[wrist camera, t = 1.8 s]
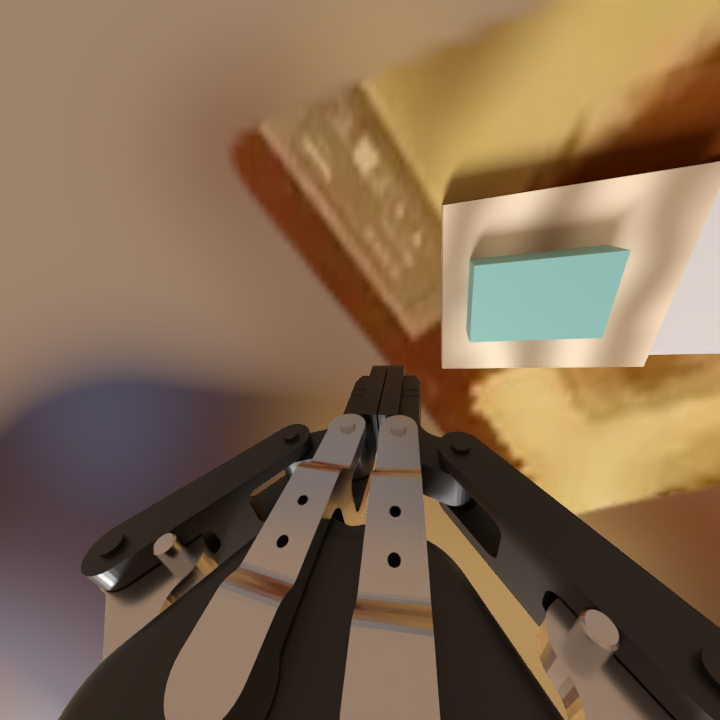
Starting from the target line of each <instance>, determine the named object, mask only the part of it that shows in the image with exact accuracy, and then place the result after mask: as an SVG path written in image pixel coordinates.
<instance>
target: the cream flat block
mask: <svg viewBox="0 0 720 720" xmlns="http://www.w3.org/2000/svg"><path fill="white" fill-rule="evenodd" d="M719 189H720V162H713V163H706V164H699V165H693V166H686V167H680V168H674V169H667V170H661V171H655V172H648V173H642V174H636V175H629V176H623V177H617V178H610V179H604V180H598V181H591V182H585V183H579V184H572V185H566V186H560V187H554V188H547V189H541V190H535V191H528V192H522V193H516V194H509V195H503V196H497V197H490V198H484V199H478V200H471V201H465V202H459V203H452V204H446V205H442V250H441V362H442V369H443V368H548V367H644V365H645V362H646V360H647V358H648V355H649V353H650V351H651V348H652V346H653V344H654V341H655V339H656V337H657V334H658V332H659V329H660V327H661V325H662V322H663V320H664V318H665V315H666V313H667V311H668V308H669V306H670V304H671V301H672V299H673V297H674V294H675V292H676V290H677V287H678V285H679V283H680V280H681V278H682V276H683V273H684V271H685V269H686V266H687V264H688V262H689V259H690V257H691V255H692V252H693V250H694V247H695V245H696V243H697V240H698V238H699V236H700V233H701V231H702V229H703V226H704V224H705V222H706V219H707V217H708V215H709V212H710V210H711V208H712V205H713V203H714V201H715V198H716V196H717V194H718V191H719ZM602 245H610V246H615V247H619V248H623V249H628V250H630V254H629V257H628V260H627V263H626V266H625V269H624V272H623V275H622V278H621V282H620V285H619V288H618V291H617V294H616V297H615V300H614V303H613V306H612V309H611V313H610V316H609V319H608V322H607V325H606V328H605V331H604V334H603V337H602V338H587V339H556V340H525V341H495V342H469V338H468V335H467V332H466V318H467V299H468V280H469V261H470V259H479V258H488V257H498V256H507V255H517V254H526V253H535V252H545V251H554V250H564V249H573V248H583V247H592V246H602Z"/></svg>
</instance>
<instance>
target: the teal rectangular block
mask: <svg viewBox="0 0 720 720" xmlns="http://www.w3.org/2000/svg"><path fill="white" fill-rule="evenodd" d="M629 254H630V250H628V249H623V248H619V247H615V246H610V245H602V246H592V247H583V248H573V249H564V250H554V251H545V252H535V253H526V254H517V255H507V256H498V257H488V258H479V259H470V261H469V280H468V299H467V318H466V332H467V335H468V338H469V342H495V341H525V340H556V339H587V338H602V337H603V334H604V331H605V328H606V325H607V322H608V319H609V316H610V313H611V309H612V306H613V303H614V300H615V297H616V294H617V291H618V288H619V285H620V282H621V278H622V275H623V272H624V269H625V266H626V263H627V260H628V257H629Z"/></svg>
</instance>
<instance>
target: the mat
mask: <svg viewBox="0 0 720 720" xmlns="http://www.w3.org/2000/svg"><path fill="white" fill-rule="evenodd" d="M718 162H720V161H718ZM712 163H713V162H712ZM705 164H706V163H705ZM711 353H720V189H719V191H718V194H717V196H716V198H715V201H714V203H713V205H712V208H711V210H710V212H709V215H708V217H707V219H706V222H705V224H704V226H703V229H702V231H701V233H700V236H699V238H698V240H697V243H696V245H695V247H694V250H693V252H692V255H691V257H690V259H689V262H688V264H687V266H686V269H685V271H684V273H683V276H682V278H681V280H680V283H679V285H678V287H677V290H676V292H675V294H674V297H673V299H672V301H671V304H670V306H669V308H668V311H667V313H666V315H665V318H664V320H663V322H662V325H661V327H660V329H659V332H658V334H657V337H656V339H655V341H654V344H653V346H652V348H651V351H650V353H649V355H657V354H711Z"/></svg>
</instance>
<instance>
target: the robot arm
mask: <svg viewBox="0 0 720 720" xmlns="http://www.w3.org/2000/svg"><path fill="white" fill-rule="evenodd" d="M375 458H376V468H375V470H373V466H374V461H375ZM282 470H284V471H285V473H286V475H285V476H283V477H282V478H280V479H279V480H277V481H276V482H275V483H273V484H272V485H270V486H269V487H267V488H266V489H264V490H263V491H261V492H260V493H258V494H257V495H255V496H250V494H251V493H252V491H253V490H254V489H255V488H257V487H259V486H260V485H262V484H263V483H265V482H266V481H268V480H269V479H270V478H272V477H274V476H275V475H277V474H278V473H279V472H281V471H282ZM368 493H369V499H368V507H367V517H366V524H365V525H361V519H362V515H363V511H364V508H365V504H366V501H367V497H368ZM423 494H424V495H426V496H429V497H431V498H433V499H436V500H438V501H439V504H440V506H441V507H442V509H443V510H444V511H445V513H446V514H447V515H448V516H449V517H450V519H451V520H452V521H453V522H454V524H455V525H456V526H457V527H458V528H459V530H460V531H461V532H462V533H463V534H464V536H465V537H466V538H467V539H468V541H469V542H470V543H471V544H472V546H473V547H474V548H475V549H476V550H477V551H478V553H479V554H480V555H481V556H482V558H483V559H484V560H485V561H486V563H487V564H488V565H489V566H490V567H491V569H492V570H493V571H494V572H495V574H496V575H497V576H498V577H499V578H500V579H501V581H502V582H503V583H504V584H505V586H506V587H507V588H508V589H509V591H510V592H511V593H512V594H513V595H514V597H515V598H516V599H517V600H518V602H519V603H520V604H521V605H522V606H523V608H524V609H525V610H526V611H527V612H528V614H529V615H530V616H531V617H532V619H533V620H534V621H535V622H536V623H537V624H538V626H539V630H538V633H537V649H538V654H539V658H540V660H541V663H542V665H543V668H544V670H545V672H546V674H547V675H548V677H549V678H550V680H551V681H552V683H553V685H554V686H555V688H556V690H557V691H558V693H559V695H560V697H561V699H562V701H563V704H564V707H565V709H566V712H567V716H568V719H569V720H720V628H719V627H718V626H716V625H715V624H714V623H713V622H711V621H710V620H709V619H707V618H706V617H705V616H704V615H702V614H701V613H700V612H698V611H697V610H696V609H695V608H693V607H692V606H691V605H689V604H688V603H687V602H686V601H684V600H683V599H682V598H680V597H679V596H678V595H677V594H675V593H674V592H673V591H671V590H670V589H669V588H668V587H666V586H665V585H664V584H663V583H661V582H660V581H659V580H657V579H656V578H655V577H654V576H652V575H651V574H650V573H648V572H647V571H646V570H645V569H643V568H642V567H641V566H639V565H638V564H637V563H636V562H634V561H633V560H632V559H630V558H629V557H628V556H627V555H625V554H624V553H623V552H621V551H620V550H619V549H618V548H617V547H615V546H614V545H613V544H611V543H610V542H609V541H607V540H606V539H605V538H604V537H602V536H601V535H600V534H599V533H597V532H596V531H595V530H593V529H592V528H591V527H590V526H588V525H587V524H586V523H584V522H583V521H582V520H581V519H579V518H578V517H577V516H576V515H574V514H573V513H572V512H570V511H569V510H568V509H567V508H565V507H564V506H563V505H561V504H560V503H559V502H558V501H556V500H555V499H554V498H553V497H551V496H550V495H549V494H547V493H546V492H545V491H544V490H542V489H541V488H540V487H538V486H537V485H536V484H535V483H533V482H532V481H531V480H529V479H528V478H527V477H526V476H524V475H523V474H522V473H521V472H519V471H518V470H517V469H515V468H514V467H513V466H512V465H510V464H509V463H508V462H506V461H505V460H504V459H503V458H501V457H500V456H499V455H497V454H496V453H495V452H494V451H492V450H491V449H490V448H489V447H487V446H486V445H485V444H483V443H482V442H481V441H480V440H478V439H477V438H476V437H474V436H472V435H470V434H468V433H464V432H451V433H447V434H445V435H444V436H443V437H441V438H440V437H437V436H434V435H431V434H429V433H428V432H426V431H425V430H424V429H423V428H422V427H421V393H420V381H419V380H418V378H417V377H416V376H406V375H405V366H404V365H390V366H373V367H372V370H371V373H370V376H362V377H361V378H360V379H359V380H358V381H357V382H356V383H355V386H354V388H353V391H352V393H351V396H350V399H349V401H348V404H347V407H346V409H345V412H344V414H343V415H341V416H339V417H337V418H336V419H335V420H334V421H333V422H332V423H331V425H330V427H329V429H326V430H323V431H318V432H313V433H310V431H309V429H308V428H307V427H306V426H305V425H302V424H294V425H290V426H287V427H285V428H283V429H281V430H280V431H278V432H276V433H274V434H273V435H271V436H270V437H268V438H266V439H264V440H263V441H261V442H259V443H258V444H256V445H254V446H253V447H251V448H249V449H247V450H246V451H244V452H242V453H241V454H239V455H237V456H236V457H234V458H232V459H230V460H229V461H227V462H225V463H224V464H222V465H220V466H218V467H217V468H215V469H213V470H212V471H210V472H208V473H206V474H205V475H203V476H201V477H200V478H198V479H196V480H195V481H193V482H191V483H189V484H188V485H186V486H184V487H183V488H181V489H179V490H178V491H176V492H174V493H172V494H171V495H169V496H167V497H166V498H164V499H162V500H160V501H159V502H157V503H155V504H154V505H152V506H150V507H149V508H147V509H145V510H144V511H142V512H140V513H139V514H137V515H135V516H133V517H132V518H130V519H128V520H126V521H125V522H123V523H121V524H120V525H118V526H116V527H115V528H113V529H111V530H110V531H108V532H107V533H106V534H104V535H103V536H102V537H101V538H100V539H99V540H98V541H97V542H96V543H95V544H94V545H93V546H92V547H91V548H90V550H89V551H88V552H87V554H86V555H85V557H84V559H83V561H82V565H81V572H82V573H83V574H84V575H85V576H86V577H88V578H89V579H90V580H92V581H93V582H94V583H95V584H97V585H98V586H99V587H100V589H101V590H102V591H103V592H104V593H105V594H106V608H105V628H104V646H103V662H102V663H101V664H100V665H99V666H98V667H97V668H96V669H95V670H94V671H93V672H92V674H91V675H90V676H89V677H88V678H87V679H86V680H85V682H84V683H83V684H82V686H81V687H80V688H79V689H78V691H77V692H76V693H75V695H74V696H73V698H72V699H71V700H70V702H69V703H68V705H67V706H66V708H65V709H64V711H63V713H62V715H61V716H60V718H59V719H58V720H564V719H563V717H562V716H561V714H560V713H559V712H558V710H557V708H556V707H555V706H554V704H553V703H552V701H551V700H550V698H549V697H548V695H547V694H546V692H545V691H544V689H543V688H542V687H541V685H540V684H539V682H538V681H537V679H536V678H535V676H534V675H533V674H532V672H531V671H530V669H529V668H528V666H527V665H526V663H525V662H524V660H523V659H522V657H521V656H520V655H519V653H518V652H517V650H516V649H515V647H514V646H513V644H512V643H511V641H510V640H509V638H508V637H507V636H506V634H505V633H504V631H503V630H502V628H501V627H500V625H499V624H498V623H497V621H496V620H495V618H494V617H493V615H492V614H491V612H490V611H489V609H488V608H487V607H486V605H485V604H484V602H483V601H482V599H481V598H480V596H479V595H478V593H477V592H476V590H475V589H474V588H473V586H472V585H471V583H470V582H469V580H468V579H467V577H466V576H465V574H464V573H463V572H462V570H461V569H460V568H459V567H458V565H457V564H456V563H455V562H454V561H453V560H452V558H450V557H449V556H448V555H447V554H446V553H445V552H444V551H443V550H441V549H440V548H439V547H438V546H436V545H434V544H433V543H431V542H429V541H427V540H426V530H425V529H426V528H425V514H424V502H423Z"/></svg>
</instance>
